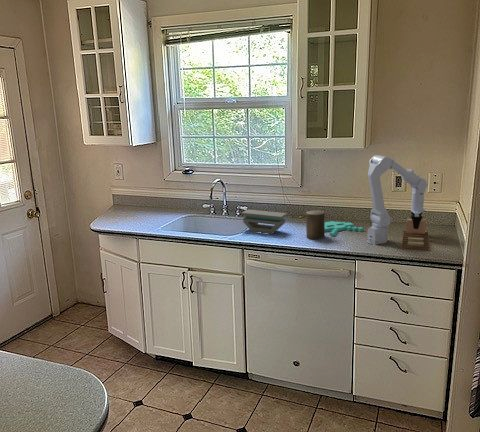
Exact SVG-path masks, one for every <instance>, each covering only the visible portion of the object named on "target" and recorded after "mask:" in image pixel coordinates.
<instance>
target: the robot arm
mask: <svg viewBox="0 0 480 432" xmlns="http://www.w3.org/2000/svg"><path fill="white" fill-rule="evenodd" d="M388 170H392V171H394V172H396V173H397V174H399V175H400V176H401V180H403V182H406V183H407V184H408V185H410V188H412V189H411V203H410V204H411V207H410V214H411V215H410V219H412V221H413V227H414V229H418V228H419V224H420V221H421V220H423V218H424V217H423V216H422V214H423V213H424V212H426V208H424V201H425V200H424V199H425V192H426V189H427V187H428V182H427V180H426V179H425V178H422V177H421V176H420V175H419V174H416V173H415V172H414V170H413V169H409V168H408V169H405V168H404V167H403V166H402V165H400V164H399V163H398V162H397V161H396V160H394V159H392V158H391V157H390V156H383V155H380V154H375V155H373V156H372V157H371V158H370V159H369V167H368V171H367V172H368V173H367V179H368V184H369V191H370V197H371V203H372V204H371V205H372V209H370V216H369V219H370V221H371V223H372V224H371V225H372V226H370V227H368V228H367V231H366V232H367V233H366V241H365V242H366V243H368V244H371V245H379V244H385V243H387V242H388V228H389V226H390V224H391V221H392V218H391V216H390V214H389V212H388V210H387V209H386V207H385V202H384V201H385V200H384V195H383V188H382V182H381V177H382V175H384V174H385V173H386V172H388Z"/></svg>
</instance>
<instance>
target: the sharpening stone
mask: <svg viewBox="0 0 480 432" xmlns="http://www.w3.org/2000/svg"><path fill="white" fill-rule="evenodd" d="M240 213H241V214H240V215H241V216H245V217H243V219H242V222H243V224H244V225H246V227H247V229H249V230H250V232H251V233H255V232H261V233H260V234H263V233H268V234H267V235H273V232H274V233H275V232H277V231H278V230H279V229H280V228H282V226H283V225H284V224H285V223H286V217H288V213H287V212H279V211H268V210H257V209H246V210H244V211H242V212H240ZM276 230H277V231H276Z"/></svg>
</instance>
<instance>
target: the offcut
mask: <svg viewBox="0 0 480 432" xmlns="http://www.w3.org/2000/svg"><path fill="white" fill-rule="evenodd" d="M408 241H422V242H423V238H410V237H408Z"/></svg>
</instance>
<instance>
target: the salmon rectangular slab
mask: <svg viewBox="0 0 480 432" xmlns="http://www.w3.org/2000/svg"><path fill="white" fill-rule="evenodd" d="M426 224H427V220H426V219H421V221H420V224H419V228H418V229H414V227H413V221H412V218H409V219H408V218H407V219H406V230H405V231H406V233H421V234H425V232H426Z"/></svg>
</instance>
